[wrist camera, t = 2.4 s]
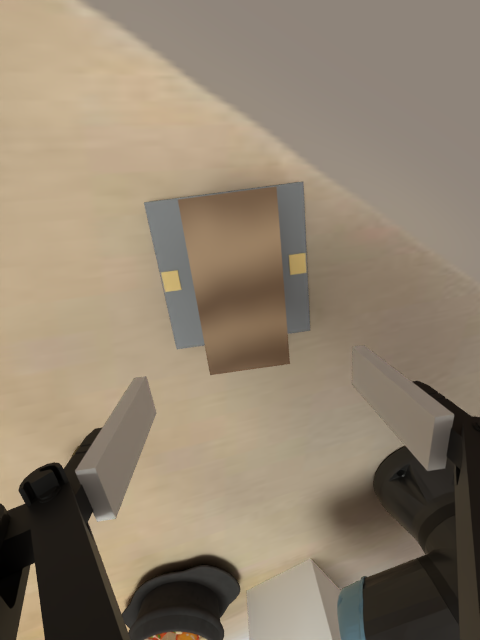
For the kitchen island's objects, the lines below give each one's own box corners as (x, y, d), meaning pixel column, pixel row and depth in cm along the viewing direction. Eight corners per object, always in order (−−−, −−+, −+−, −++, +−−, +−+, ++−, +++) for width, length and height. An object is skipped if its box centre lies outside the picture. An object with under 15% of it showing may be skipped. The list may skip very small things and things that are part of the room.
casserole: (168, 635, 56) (159, 701, 48) (103, 597, 51) (80, 664, 43) (258, 583, 52) (264, 646, 44) (198, 537, 47) (193, 598, 39)
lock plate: (299, 184, 30) (324, 165, 22) (306, 326, 35) (328, 350, 28) (147, 204, 30) (121, 191, 22) (178, 344, 35) (165, 373, 28)
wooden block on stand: (196, 215, 29) (177, 199, 18) (256, 207, 29) (276, 186, 18) (215, 329, 33) (210, 375, 22) (268, 322, 33) (289, 363, 22)
